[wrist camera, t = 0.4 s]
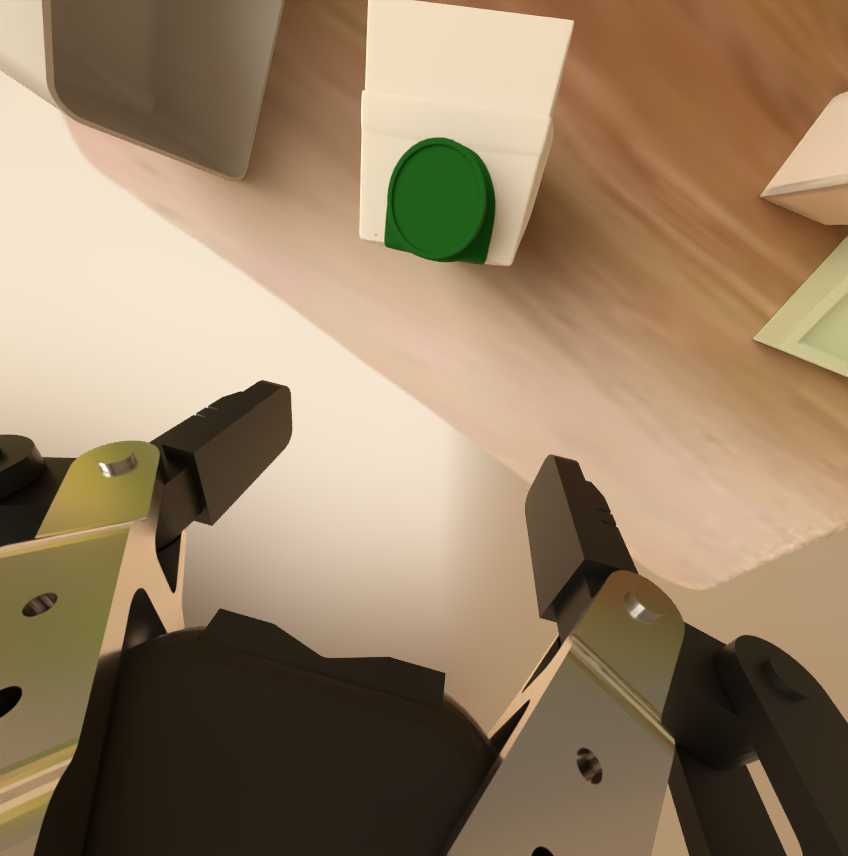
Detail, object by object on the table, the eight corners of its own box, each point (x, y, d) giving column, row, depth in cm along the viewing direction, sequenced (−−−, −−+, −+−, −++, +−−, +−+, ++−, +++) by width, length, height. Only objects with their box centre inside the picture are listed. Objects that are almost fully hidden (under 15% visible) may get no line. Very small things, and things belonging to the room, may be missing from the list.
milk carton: (414, 244, 31) (329, 251, 14) (428, 119, 26) (326, -95, 9) (503, 260, 31) (526, 287, 14) (534, 135, 26) (628, -62, 9)
